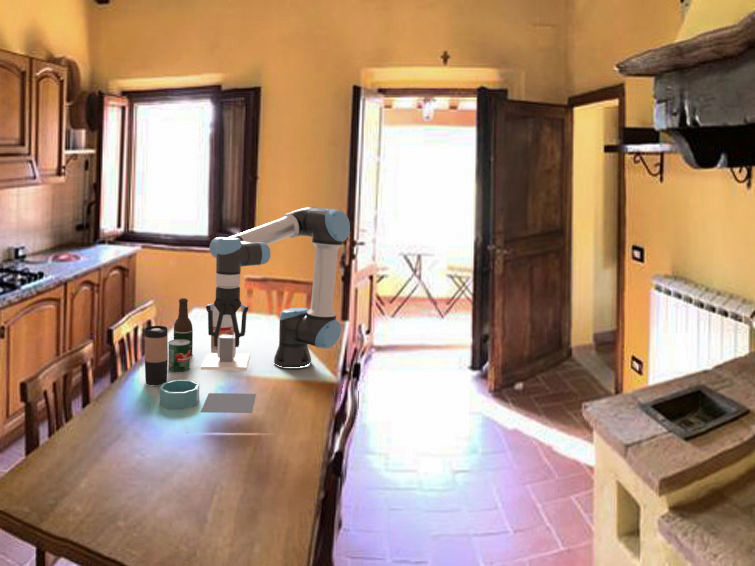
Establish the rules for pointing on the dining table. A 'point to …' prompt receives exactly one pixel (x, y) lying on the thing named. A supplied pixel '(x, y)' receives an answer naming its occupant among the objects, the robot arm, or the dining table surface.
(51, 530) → the dining table surface
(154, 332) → the travel mug
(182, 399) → the bowl
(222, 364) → the lid
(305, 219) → the robot arm
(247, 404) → the mat
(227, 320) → the fruit juice
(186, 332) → the beer bottle
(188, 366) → the canned tomato
